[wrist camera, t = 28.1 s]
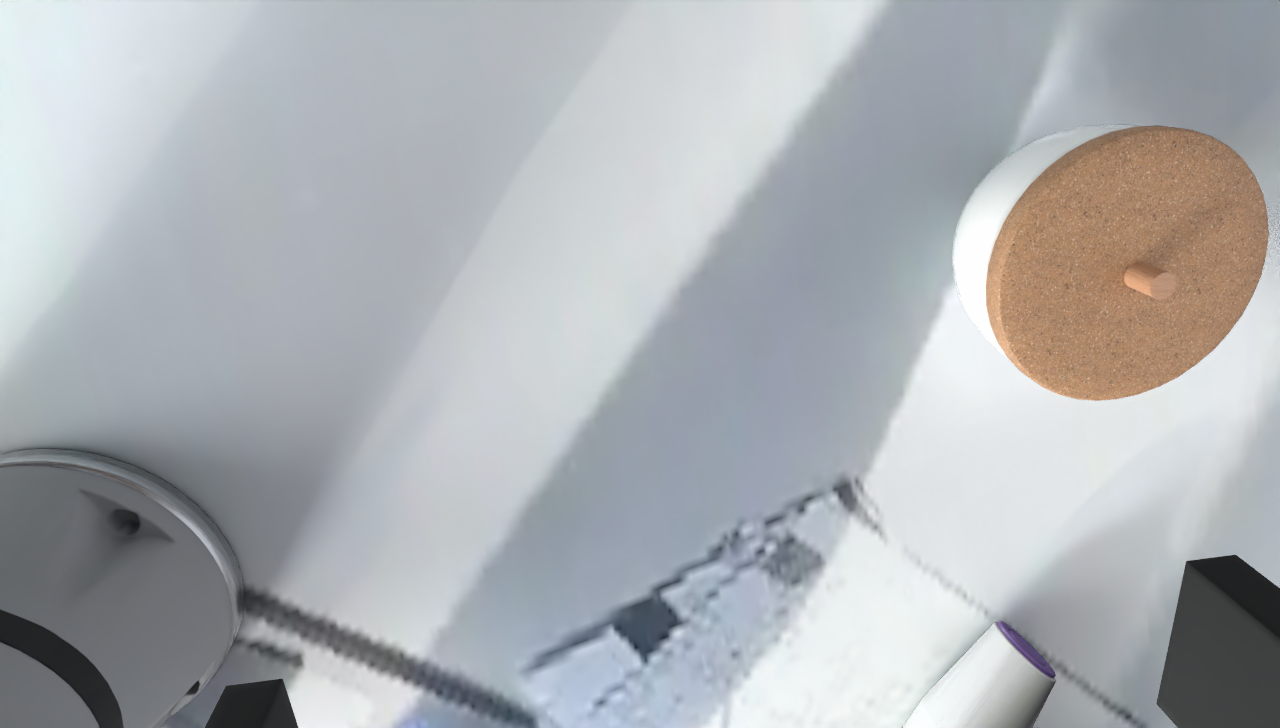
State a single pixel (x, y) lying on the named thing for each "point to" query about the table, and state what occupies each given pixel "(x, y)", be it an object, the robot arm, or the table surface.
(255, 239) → the table surface
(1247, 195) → the trinket box
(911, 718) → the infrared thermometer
